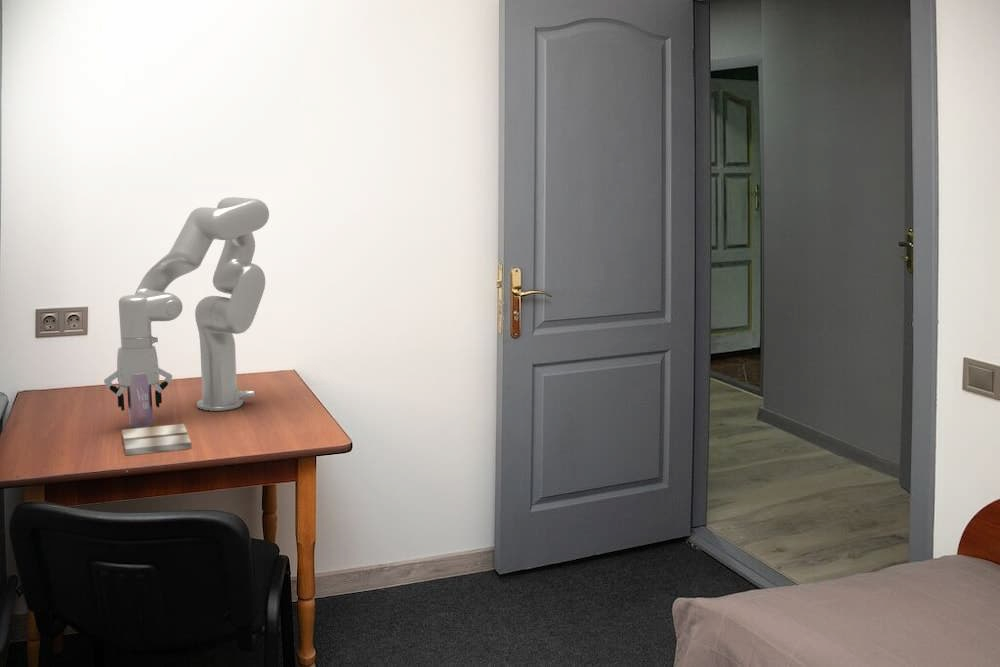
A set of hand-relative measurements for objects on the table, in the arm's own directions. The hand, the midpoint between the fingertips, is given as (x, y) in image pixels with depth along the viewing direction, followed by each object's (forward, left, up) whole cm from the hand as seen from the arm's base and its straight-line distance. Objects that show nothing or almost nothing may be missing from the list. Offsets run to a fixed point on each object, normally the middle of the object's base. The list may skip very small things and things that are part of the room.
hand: (140, 407), depth 247 cm
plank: (-3, +12, -5) cm, 13 cm away
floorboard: (-3, +21, -5) cm, 22 cm away
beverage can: (0, 0, -5) cm, 5 cm away
